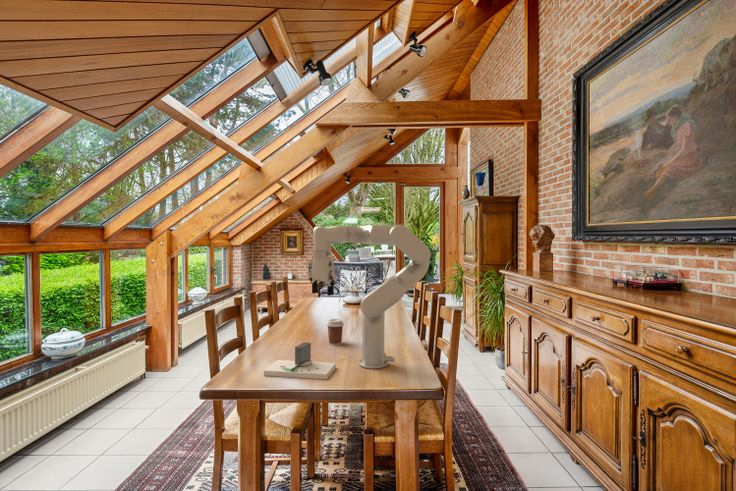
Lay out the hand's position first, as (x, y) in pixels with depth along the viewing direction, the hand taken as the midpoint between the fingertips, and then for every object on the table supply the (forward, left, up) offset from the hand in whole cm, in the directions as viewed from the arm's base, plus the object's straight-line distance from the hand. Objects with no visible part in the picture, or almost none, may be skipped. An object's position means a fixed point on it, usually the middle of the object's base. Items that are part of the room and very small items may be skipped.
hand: (322, 294), depth 176 cm
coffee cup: (+3, -32, -31) cm, 44 cm away
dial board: (+6, +12, -30) cm, 33 cm away
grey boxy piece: (+6, +12, -28) cm, 31 cm away
